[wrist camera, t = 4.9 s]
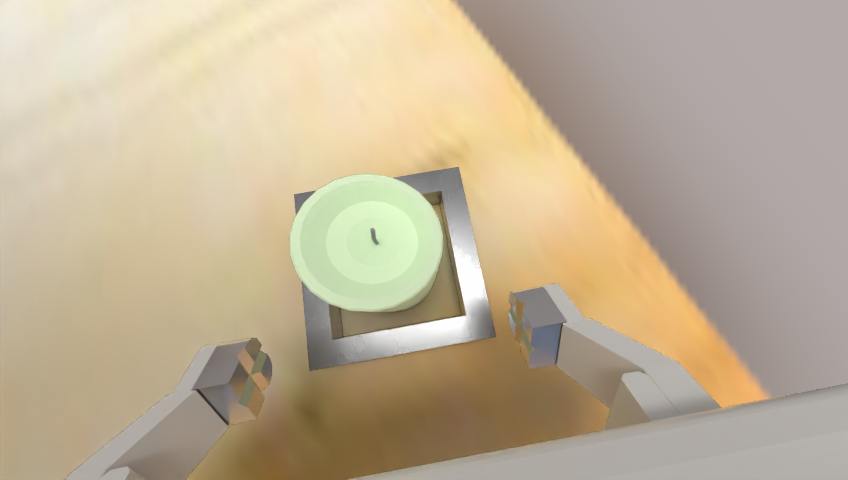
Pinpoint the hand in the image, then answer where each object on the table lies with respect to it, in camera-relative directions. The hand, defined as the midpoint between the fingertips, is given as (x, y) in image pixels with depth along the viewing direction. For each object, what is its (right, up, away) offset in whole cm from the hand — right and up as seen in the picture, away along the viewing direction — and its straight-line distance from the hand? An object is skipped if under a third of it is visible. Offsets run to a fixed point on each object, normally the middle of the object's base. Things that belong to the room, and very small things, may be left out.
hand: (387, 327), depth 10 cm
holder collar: (-1, +1, +8) cm, 8 cm away
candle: (-1, +1, +8) cm, 8 cm away
